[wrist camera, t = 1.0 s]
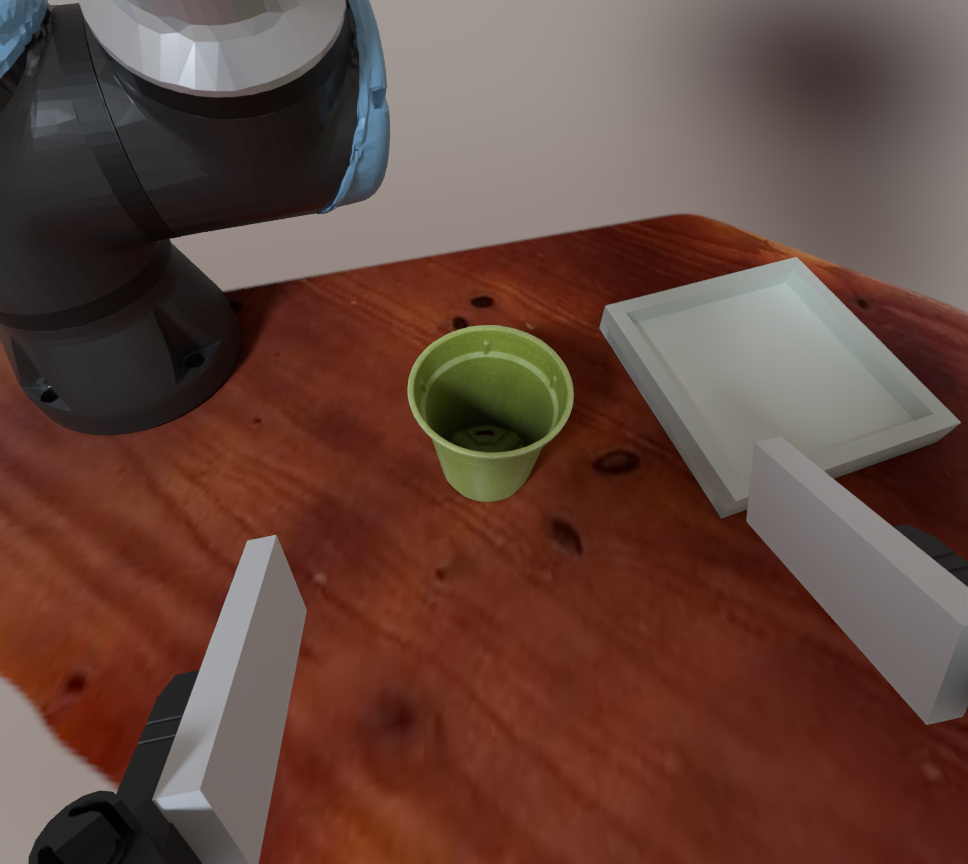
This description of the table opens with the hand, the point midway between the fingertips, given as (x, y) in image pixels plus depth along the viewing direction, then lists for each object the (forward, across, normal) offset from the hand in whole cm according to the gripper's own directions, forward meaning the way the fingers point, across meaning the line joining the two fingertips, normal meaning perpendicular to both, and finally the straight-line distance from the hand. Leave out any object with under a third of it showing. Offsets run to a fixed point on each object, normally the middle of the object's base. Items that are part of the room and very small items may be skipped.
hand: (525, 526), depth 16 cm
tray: (+25, +22, -11) cm, 35 cm away
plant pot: (+21, 0, -11) cm, 24 cm away
